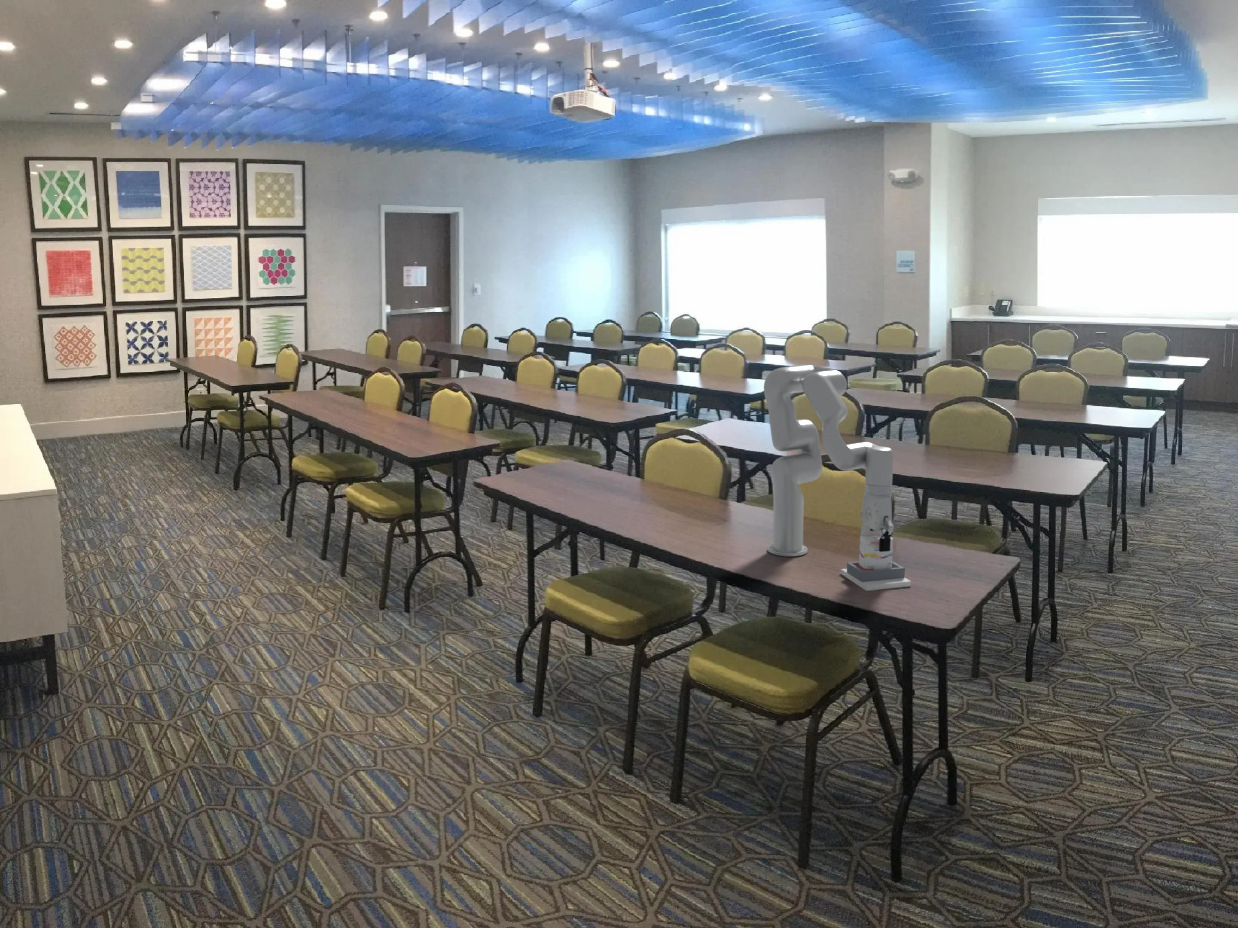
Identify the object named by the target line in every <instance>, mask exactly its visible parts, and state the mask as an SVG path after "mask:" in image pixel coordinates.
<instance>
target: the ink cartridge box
mask: <svg viewBox="0 0 1238 928" xmlns="http://www.w3.org/2000/svg"><path fill="white" fill-rule="evenodd" d="M882 528H883V527H882ZM870 529H871V528H869V527H867V526H865V525H863V524H862V525H861V527H860V536H859V549H858V550H859V552H858V562H859V568H860V569H862V570H863V571H867V570H877V569H888V568H892V561H893V557H894V556H893V555H894V554H893V552H894V538H893V537H891V538H890V551H886V552H880V551H879V538H881V536H880V533H879V530H878V531H875V530H874V531H870ZM885 532H886V531H883V533H885Z"/></svg>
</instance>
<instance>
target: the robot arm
mask: <svg viewBox="0 0 1238 928" xmlns="http://www.w3.org/2000/svg"><path fill="white" fill-rule="evenodd" d="M847 382H848V381H847V378H846V377H845V375H844V374H843V373H842V372H840V371H838V370H836V369H832V368H827V367H823V366H820V365H819V366H818V365H813V364H804V365H801V364H800V365H791V366H789V365H788V366H784V367H783V366H781V367H778V368H775V369H773V370H772V371H770V372H769V373H768V374H767V376H766V378H765V380H764V383H763V394H764V398H765V399H764V400H765V401H766V405H767V410H768V417H769V426H770V427H769V428H770V435H771V441H772V442H771V443H772V445H773V448H774V449H775V450H776V451H778V452H792V451H796V452H797V453H796V454H788V455H784V456H780V457H778V458H776V459H775V460H774V461H773V463H772V464H771V467H770V476H771V482H772V490H773V510H772V511H773V518H772V520H773V522H772V523H773V525H772V527H773V529H772V544H770V545H769V546H768V547H767V551H768V552H769V553H770V554H772V555H775V556H780V557H788V558H789V557H791V558H792V557H799V556H804V555H806V554H807V553H808V547H807V546H806V545H804V500H805V499H804V496H803V493H802V491H801V488H800V486H799V485H801V484H806V483H810V482H814V481H816V480H818V478H820V476H821V474H822V472H823V459H822V452H821V451H822V450H821V443H822V446H823V448H824V451H825V453H826V455H828V458H829V459H830V461H831V462H832V464H833V465H834V466H835V467H836V468H837V469H839V470H841V471H845V472H847V471H854V470H859V469H865V475H864V476H865V479H864V482H865V483H864V494H863V498H862V505H861V512H860V513H861V520H860V521H861V524H862V526H863V525H865V526H867V527H869V528H871V529H870V531H879V533H880V536H881V538H879V551H880V552H886V551H890V538H891V537H892V536H893V534H894V533H893V532H894V530H895V526H894V523H892V522H893V521H892V520H893V519H892V516H893V514H892V513H893V510H892V508H893V507H892V506H893V505H892V495H893V475H894V474H893V473H894V451H893V449H892V448H890V447H888V446H879V445H877V444H874V443H872V442H869V441H862V442H855V443H854V442H853V443H850V444H846V442H845V441H844V440H843V437H842V436H841V434H840V431H839V424H840V423H842V422H843V421H844V420H845V419H846V417H847V416H848V414H849V409H848V407H847V405H846V404H845V402H844V401H843V399H842V397H841V396H843V395H844V394H845V393H846V392H847V387H848V383H847ZM799 393H804V394H805V397H806V398H807V399H808V402H809V403H810V404H811V406H812V408H813V410H814V411H815V413H816V414H817V416H818V417H819V420H820V421H821V423H822V427H821V441H822V442H820V434H819V432H818V429H817V427H816V425H815V424H814V422H812V421H811V420H809V419H802V418H801V419H798V418H797V411H796V409H797V408H796V407H795V403H794V402H793V400H792V398H791V397H790V396H789V394H790V395H791V394H799ZM882 527H883V528H882ZM883 531H886V532H885V533H883ZM892 538H893V537H892Z"/></svg>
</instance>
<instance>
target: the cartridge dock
mask: <svg viewBox="0 0 1238 928" xmlns="http://www.w3.org/2000/svg"><path fill="white" fill-rule="evenodd" d="M905 570H906V569H905V567H904V566H902V565H900V564H898V563H897V562H895V561H893V560H892V568H888V569H877V570H867V571H863V570H862V569H860V568H859V561H849V562H847V563H846V568H841V569H840V574H841V575H842V576H843V577H844V578H846V579H847V580H849V581H851V582H852V583H854V584H856V585H857V586H859V587H860V588H861V589H863V590H865V592H867V591H877V590H886V589H895V588H896V589H898V588H908V587H911V586H912V581H911V580H910V579H908V578H906V577H905V572H906V571H905Z"/></svg>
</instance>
